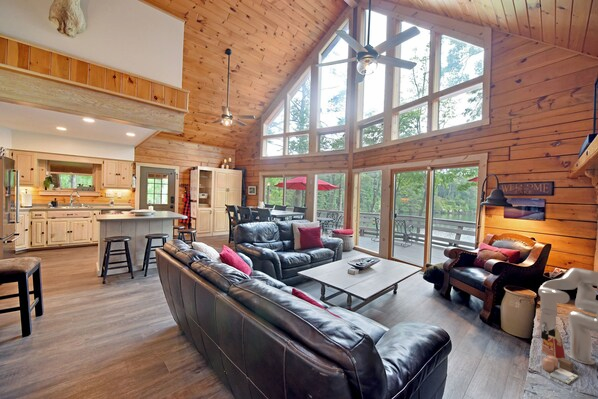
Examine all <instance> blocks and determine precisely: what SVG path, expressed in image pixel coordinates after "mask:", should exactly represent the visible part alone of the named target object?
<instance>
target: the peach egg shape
mask: <svg viewBox="0 0 598 399" xmlns="http://www.w3.org/2000/svg"><path fill="white" fill-rule="evenodd" d="M546 358H548V359H550V360H552V361H553V362H554V370H557V369H559V359H558V358H556V357H554V356H551V355H548V356H547V355H546Z"/></svg>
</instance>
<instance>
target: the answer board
mask: <svg viewBox="0 0 598 399" xmlns="http://www.w3.org/2000/svg"><path fill="white" fill-rule="evenodd" d="M549 376H550V377H552V378H554V379H555V380H558V381H560V382H563V383H564V384H566V383H567V384H566V385H570V384H571V383H572V382H573V381H574V380H576V379H578V378H579V376H578V374H575V373H574V372H573V373H572V371H571V372H569V371H567V370H564V369H562V368H560V367H558V369H557V370H556V369H554V372H550V373H549ZM571 381H572V382H571ZM570 382H571V383H570Z"/></svg>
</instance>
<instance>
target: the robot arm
mask: <svg viewBox="0 0 598 399" xmlns="http://www.w3.org/2000/svg"><path fill="white" fill-rule="evenodd" d="M593 286H595V287H598V271H594V270H589V269H585V268H578V267H571V268H569V269H568V270H567V271H566V272H564V274H563V275H562V276H561V277H559V278H554V279H551V280H547V281H545V282H543V283H542V285H540V287H539V288H538V291H537V292H538V296H539V297H540V301H539V302H540V306H539V308H540V315H539V316H540V317H539V328H540V330H541V331H540V333H541V334H540V335H541V336H540V338H541V339H542V340H543V339H545V340H548V335H550V336H553V337H555V330H556V329H555V327H557V315H558V304H567V303H568V302H569V301H570V300H571V298H570V295H569V294H568V293H567V292H566V291H567V290H570V291H571V290H575V289H576V288H577V290H576V291H577V293H576V298H575V300H574V306H575V308H576V309H577V310H578V311H577V310H573V311H570V312H569V313H568V318H567V319H568V322H569V330H570V335H569V336H570V339H569V340H570V341H569V344H570V345H569V346H570V347H569V348H570V350H569V351H568V352H567V353H566V356H567V357H568V358H569V359H571V360H573V361H575V362H578V363H581V364H585V365H592V366H593V365H595V364H596V363H595V362H596V361H595V360H594V359H593V358H592V333H591V332H594V333H598V300H597V299H596V298H597V297H596V296H597V291H596V289H595V287H593ZM562 290H563V291H562ZM564 290H566V291H564ZM579 310H580V311H579ZM588 313H589V314H588ZM591 314H592V315H591ZM594 315H595V316H594ZM590 331H591V332H590Z"/></svg>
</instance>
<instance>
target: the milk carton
mask: <svg viewBox="0 0 598 399" xmlns="http://www.w3.org/2000/svg"><path fill="white" fill-rule="evenodd" d="M555 329H556V330H555V337H553V336H550V335H548V340H545V339H542V343H541V352H542V353H544V355H546V357H547V356H548V355H551V356H554V357H556V358H558V360H560V359H561V358H565V359H567V358H566V354H565V353H566V352H565V348H564V342H563V339H562V336H561V333H560V331H559V330H558V326H556V327H555Z"/></svg>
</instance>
